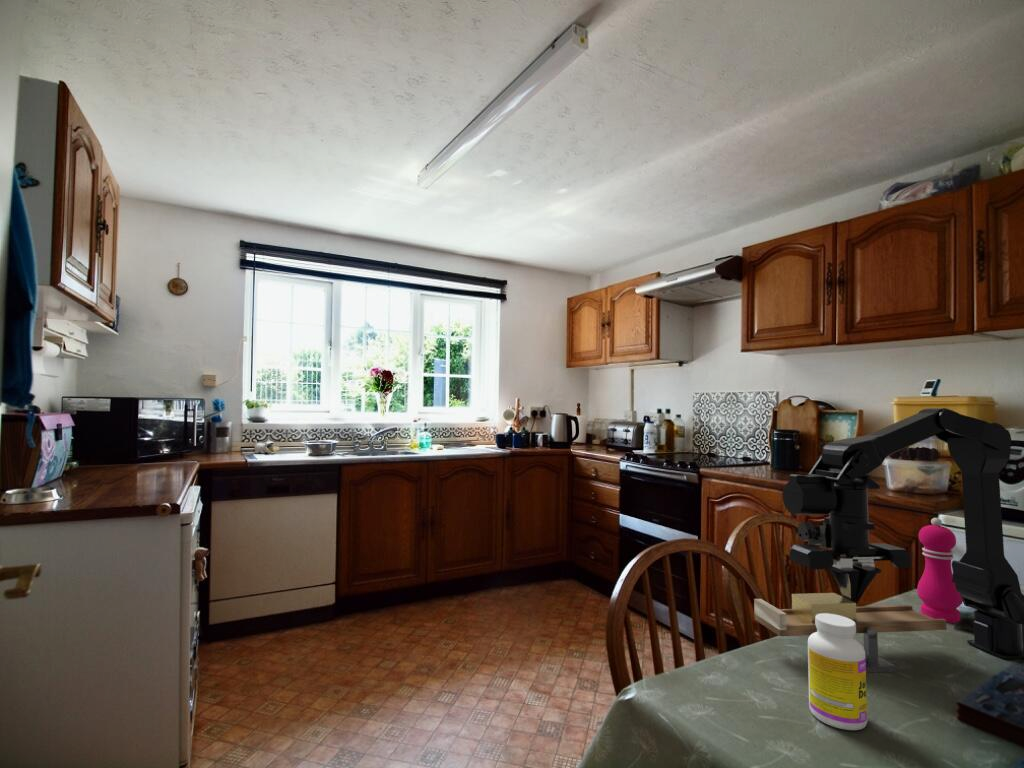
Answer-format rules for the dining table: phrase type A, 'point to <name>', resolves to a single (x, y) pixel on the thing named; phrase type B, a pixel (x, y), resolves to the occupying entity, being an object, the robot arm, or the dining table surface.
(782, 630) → the balance beam
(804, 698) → the dining table surface
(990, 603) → the robot arm
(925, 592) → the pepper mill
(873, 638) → the stand
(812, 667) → the supplement bottle
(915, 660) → the dining table surface
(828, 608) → the brass rider
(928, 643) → the dining table surface
